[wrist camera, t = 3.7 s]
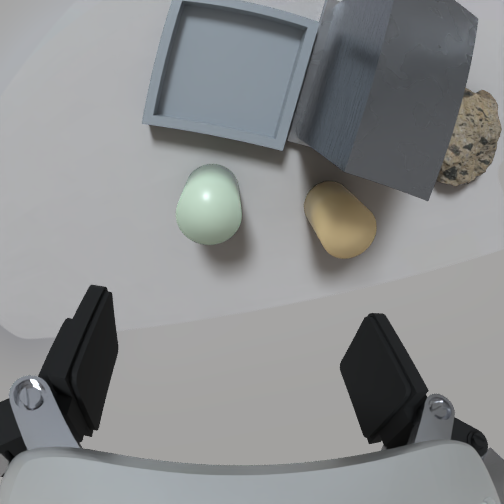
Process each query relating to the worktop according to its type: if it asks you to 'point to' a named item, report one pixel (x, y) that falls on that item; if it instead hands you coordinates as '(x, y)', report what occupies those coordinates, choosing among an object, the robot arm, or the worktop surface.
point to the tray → (229, 70)
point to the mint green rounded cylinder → (209, 205)
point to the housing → (386, 88)
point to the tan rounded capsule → (339, 220)
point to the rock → (471, 139)
